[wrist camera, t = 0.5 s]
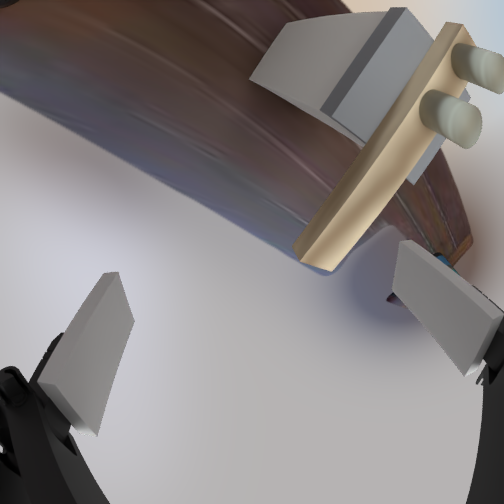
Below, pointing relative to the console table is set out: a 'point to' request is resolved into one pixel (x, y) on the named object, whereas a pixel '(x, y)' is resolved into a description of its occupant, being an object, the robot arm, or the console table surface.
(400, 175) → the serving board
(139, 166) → the console table surface
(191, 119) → the console table surface
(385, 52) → the grey-banded white block
